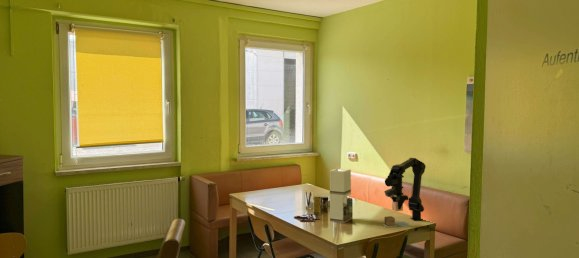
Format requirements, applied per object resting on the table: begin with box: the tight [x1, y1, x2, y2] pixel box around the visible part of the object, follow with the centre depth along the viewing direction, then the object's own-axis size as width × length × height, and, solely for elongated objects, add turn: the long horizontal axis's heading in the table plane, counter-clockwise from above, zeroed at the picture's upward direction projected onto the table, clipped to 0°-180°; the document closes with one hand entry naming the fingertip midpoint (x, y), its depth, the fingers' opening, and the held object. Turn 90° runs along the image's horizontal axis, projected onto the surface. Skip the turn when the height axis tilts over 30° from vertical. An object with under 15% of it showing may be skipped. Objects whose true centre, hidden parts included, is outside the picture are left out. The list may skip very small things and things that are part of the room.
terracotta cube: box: [391, 201, 404, 212], centre depth 281 cm, size 5×5×5 cm
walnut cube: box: [383, 215, 396, 226], centre depth 280 cm, size 5×5×5 cm
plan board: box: [379, 221, 412, 229], centre depth 281 cm, size 11×17×1 cm, turn 101°
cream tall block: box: [329, 168, 352, 224], centre depth 296 cm, size 11×11×35 cm
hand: (397, 208), depth 281 cm, fingers closed on terracotta cube, 5 cm apart
